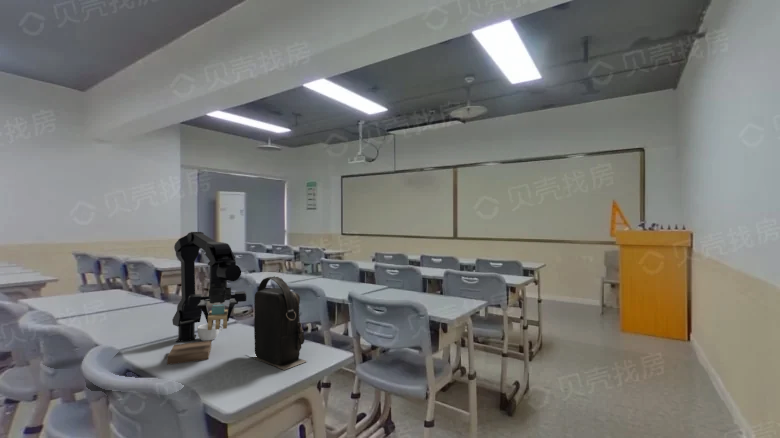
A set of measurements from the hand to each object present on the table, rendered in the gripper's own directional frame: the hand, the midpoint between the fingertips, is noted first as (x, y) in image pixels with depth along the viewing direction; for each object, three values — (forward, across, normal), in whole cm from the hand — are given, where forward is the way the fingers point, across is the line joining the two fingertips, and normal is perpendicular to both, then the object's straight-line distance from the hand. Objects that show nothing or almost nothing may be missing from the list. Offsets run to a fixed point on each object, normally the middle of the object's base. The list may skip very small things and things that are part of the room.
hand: (217, 322), depth 129 cm
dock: (+11, -8, 0) cm, 14 cm away
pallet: (+1, 0, 0) cm, 1 cm away
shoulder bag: (+11, +18, -15) cm, 26 cm away
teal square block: (-3, 0, 0) cm, 3 cm away
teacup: (+11, -3, +19) cm, 22 cm away
